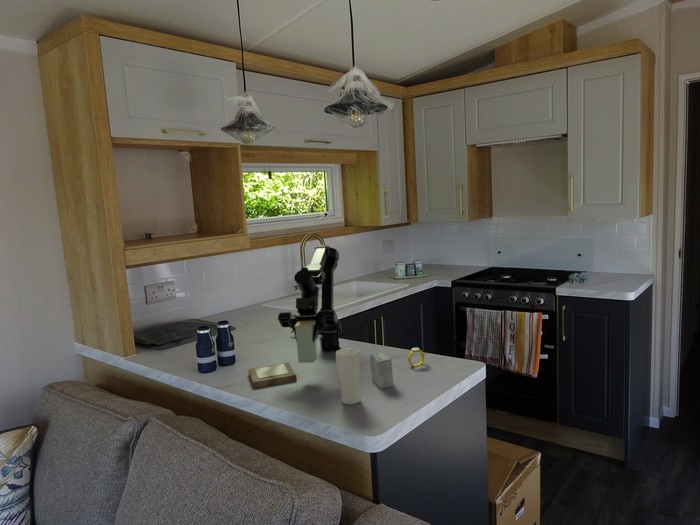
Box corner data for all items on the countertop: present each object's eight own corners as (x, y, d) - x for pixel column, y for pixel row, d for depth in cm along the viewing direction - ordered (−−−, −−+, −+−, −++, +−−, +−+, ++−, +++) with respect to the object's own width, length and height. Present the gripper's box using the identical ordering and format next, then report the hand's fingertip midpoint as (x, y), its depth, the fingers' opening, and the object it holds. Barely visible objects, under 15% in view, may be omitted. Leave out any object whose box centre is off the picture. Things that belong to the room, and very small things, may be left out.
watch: (412, 369, 176) (410, 352, 175) (407, 367, 179) (405, 350, 178) (426, 364, 179) (424, 347, 178) (421, 362, 182) (419, 345, 181)
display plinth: (288, 367, 187) (288, 361, 186) (296, 380, 173) (296, 373, 173) (249, 374, 183) (248, 368, 183) (253, 388, 170) (253, 381, 169)
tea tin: (301, 357, 175) (298, 321, 173) (317, 357, 174) (314, 320, 172) (298, 363, 170) (294, 325, 168) (314, 362, 169) (310, 325, 167)
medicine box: (393, 386, 162) (392, 359, 161) (380, 389, 161) (378, 361, 159) (384, 378, 169) (383, 352, 168) (371, 380, 168) (369, 354, 167)
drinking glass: (336, 405, 151) (331, 354, 149) (344, 396, 157) (340, 347, 155) (358, 407, 148) (354, 355, 146) (366, 397, 155) (362, 348, 153)
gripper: (276, 288, 174) (270, 330, 165) (332, 285, 171) (329, 328, 162) (285, 306, 183) (279, 347, 173) (338, 304, 180) (335, 345, 171)
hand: (305, 341), depth 170 cm, fingers closed on tea tin, 5 cm apart
